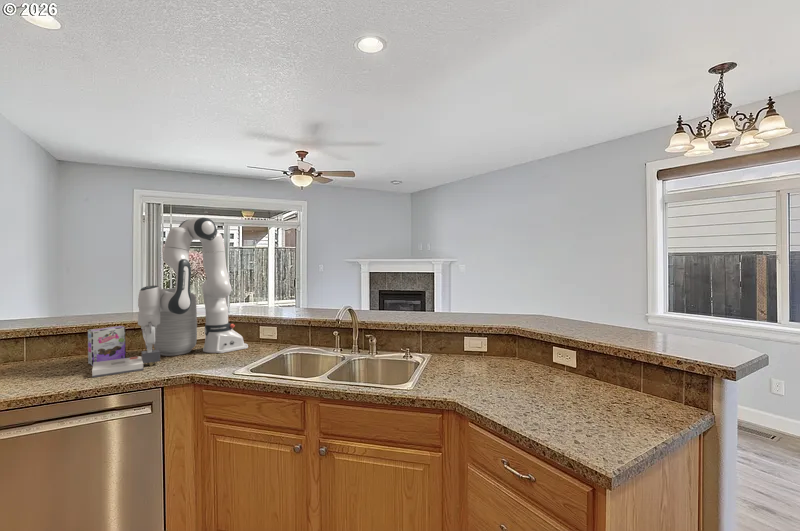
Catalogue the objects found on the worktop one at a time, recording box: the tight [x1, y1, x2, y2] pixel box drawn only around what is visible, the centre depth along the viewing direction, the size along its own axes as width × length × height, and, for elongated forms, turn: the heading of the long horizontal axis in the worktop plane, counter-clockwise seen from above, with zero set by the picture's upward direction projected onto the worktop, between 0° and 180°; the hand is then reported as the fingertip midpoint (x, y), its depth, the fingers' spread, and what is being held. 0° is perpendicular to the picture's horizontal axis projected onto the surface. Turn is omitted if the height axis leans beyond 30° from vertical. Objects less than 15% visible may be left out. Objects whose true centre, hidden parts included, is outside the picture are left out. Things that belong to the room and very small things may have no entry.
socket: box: [91, 355, 144, 379], centre depth 178 cm, size 18×16×4 cm
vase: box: [153, 287, 198, 357], centre depth 209 cm, size 20×20×34 cm
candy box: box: [87, 325, 127, 367], centre depth 191 cm, size 14×6×16 cm, turn 143°
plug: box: [141, 348, 161, 366], centre depth 186 cm, size 7×6×7 cm
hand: (148, 350), depth 185 cm, fingers open, 8 cm apart
